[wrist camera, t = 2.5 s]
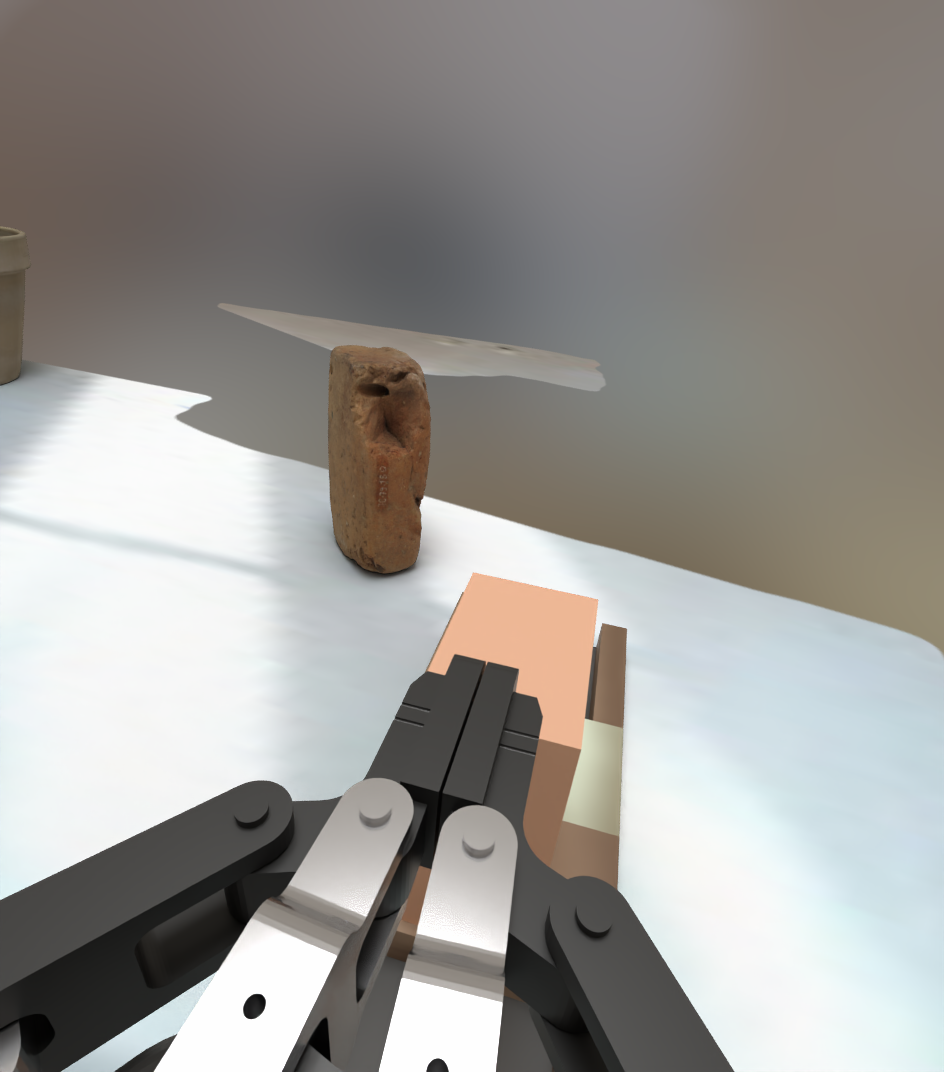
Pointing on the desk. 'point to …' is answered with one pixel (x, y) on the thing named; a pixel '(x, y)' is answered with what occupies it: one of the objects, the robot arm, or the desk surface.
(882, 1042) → the desk surface
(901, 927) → the desk surface
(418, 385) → the block
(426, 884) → the block
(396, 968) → the track
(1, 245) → the plant pot
